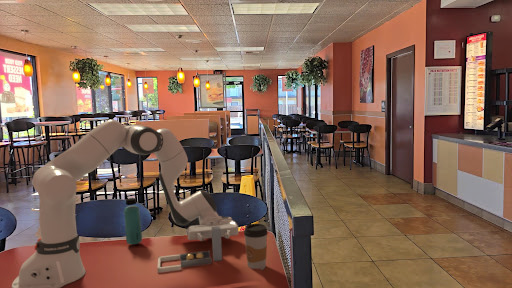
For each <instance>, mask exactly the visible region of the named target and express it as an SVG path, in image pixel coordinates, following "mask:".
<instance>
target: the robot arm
mask: <svg viewBox="0 0 512 288" xmlns="http://www.w3.org/2000/svg"><path fill="white" fill-rule="evenodd" d="M121 148H122V149H123V150H125V151H128V152H130V153H132V154H137V155H141V156H146V155H151V154H154V155H155V158H156V159H157V161H158V162H159V164H160V171H159V173H158V178H159V182H160V185H161V189H162V191H163V194H164V196H165V199H166V201H167V204H168V207H169V210H170V215H171V218H172V220H173V221H174V223H175V224H176V225H179V226H183V227H184V226H187V225H189V224H190V223H191V222H192V221H194V220H196V219H198V223H199V224H196V225H195V224H194V225H190V226H189V227H188V228H186V230H185V231H186V233H187V240H189V241H195V240H197V241H198V240H199V241H200V242H204V241H205V239H212V227H216V226H220V228H221V238H224V239H225V240H226V239H227V240H228V239H230V237H231V236H238V235H239V225H238V223H237V222H236V221H235V220H233V218H232V217H230V216H222V215H219V213H217V205H216V202H215V201H214V198H213V197H212V196H211V194H210V193H209V192H208V191H206V190H204V189H203V190H202V189H200V190H199V191H196V192H195V193H193V194H191V195H189V196H187V197H186V198H184V199H183V200H180V201H178V199H177V196H176V194H175V190H174V188H173V186H174V184H175V182H176V180H177V179H178V178H179V177H180V176H181V175H182V174H183V172H184V171H185V169H186V168H187V165H188V162H189V161H188V159H189V158H188V156H187V152H186V151H185V149H184V147H183V145H182V144H181V142H180V141H179V139H178V138H177V136H176V135H175V134H174V133H173V132H172V131H171V130H170V129H169V128H164V127H163V128H160V129H157V130H155V129H154V128H152V127H150V126H148V125H147V126H145V125H142V124H125V125H123V123H121V122H119V121H118V120H116V119H108V120H106V121H104V122H102V123H100V124H98V125H97V126H96V127H94V128H93V129H92V130H90V131H89V132H88V133H86V134H85V135H84V136H83V137H81V138H80V139H79V140H78V141H77V142H76V143H74V144H73V145H72V146H71V147H69V148H68V149H67V150H65V151H63V152H61V153H60V154H59V155H57V156H56V157H54V158H53V159H51V160H50V161H48V162H47V163H46V164H44V165H43V166H41V167H40V168H38V169H37V170H36V171H35V172H34V174H33V177H32V186H33V188H34V190H35V191H36V192H37V193H38V198H39V200H38V201H39V210H40V211H39V217H38V221H39V227H40V232H41V237H40V238H39V239H38V238H37V242H36V243H35V245H34V247H33V248H34V250H35V252H34V253H33V254H32V255H30V257H28V259H26V260H25V261H24V262H23V263H22V264H21V265H20V266H21V267H20V268H19V273H18V276H16V278H15V279H14V280H13V282H12V283H11V288H62V287H64V286H66V285H68V284H71V283H73V282H76V281H77V280H80V279H81V278H83V277H84V276H85V275H86V269H85V266H84V264H83V261H82V258H81V254H80V248H81V244H80V237H79V234H78V233H77V223H76V222H77V221H76V202H77V200H76V199H77V189H78V187H77V183H76V181H78V180H79V179H81V178H83V177H84V176H85V175H88V174H89V173H91V172H94V170H96V169H97V168H98V167H99V166H100V165H102V164H103V163H104V162H105V161H106V160H107V159H108V158H109V157H111V155H113V154H114V153H115V152H116V151H117V150H119V149H121Z"/></svg>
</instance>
